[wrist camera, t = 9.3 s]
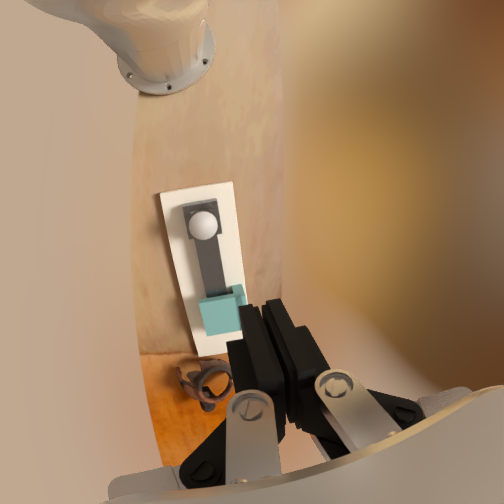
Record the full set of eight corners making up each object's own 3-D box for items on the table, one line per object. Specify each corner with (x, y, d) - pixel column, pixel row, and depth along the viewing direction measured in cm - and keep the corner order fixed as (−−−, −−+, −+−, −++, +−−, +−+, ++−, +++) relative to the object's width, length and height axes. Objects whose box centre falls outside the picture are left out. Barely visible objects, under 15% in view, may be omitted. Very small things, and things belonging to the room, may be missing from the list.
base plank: (160, 192, 36) (155, 201, 32) (231, 180, 38) (236, 187, 33) (198, 353, 48) (200, 374, 43) (252, 343, 49) (258, 363, 44)
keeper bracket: (198, 291, 42) (198, 303, 39) (241, 283, 43) (245, 295, 40) (205, 323, 44) (206, 336, 41) (246, 316, 45) (249, 328, 42)
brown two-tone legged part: (168, 354, 48) (187, 374, 41) (213, 339, 53) (238, 354, 47) (181, 405, 50) (201, 428, 43) (221, 389, 55) (245, 407, 48)
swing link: (182, 204, 36) (182, 206, 35) (216, 198, 37) (217, 200, 36) (210, 328, 45) (210, 334, 43) (237, 323, 45) (238, 329, 44)
